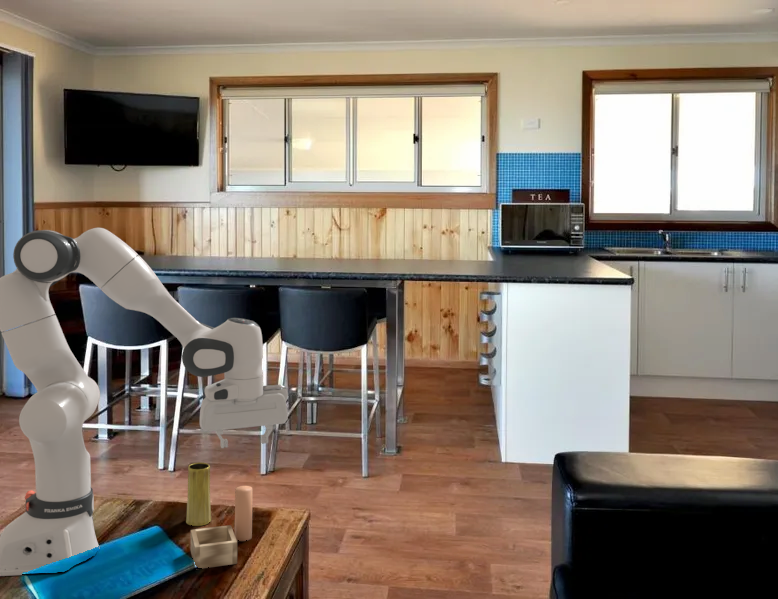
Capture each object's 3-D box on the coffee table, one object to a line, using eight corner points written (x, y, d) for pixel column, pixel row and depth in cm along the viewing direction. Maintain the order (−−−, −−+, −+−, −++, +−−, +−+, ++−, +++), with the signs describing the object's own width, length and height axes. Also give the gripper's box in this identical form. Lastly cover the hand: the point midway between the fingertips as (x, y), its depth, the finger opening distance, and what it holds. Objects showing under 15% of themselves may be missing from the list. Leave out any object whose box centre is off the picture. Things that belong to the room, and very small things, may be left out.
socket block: (194, 569, 155) (195, 547, 154) (190, 550, 163) (190, 529, 162) (237, 563, 158) (237, 542, 157) (230, 545, 166) (230, 525, 166)
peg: (236, 542, 168) (236, 492, 167) (233, 534, 172) (234, 486, 171) (253, 539, 170) (253, 491, 168) (250, 532, 173) (250, 485, 172)
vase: (204, 527, 175) (205, 471, 173) (181, 524, 176) (181, 468, 175) (215, 517, 181) (216, 463, 179) (192, 514, 182) (193, 460, 181)
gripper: (284, 381, 174) (284, 436, 175) (197, 388, 166) (198, 446, 167) (291, 386, 168) (291, 444, 170) (202, 394, 160) (203, 454, 162)
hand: (244, 445), depth 168 cm, fingers open, 8 cm apart
